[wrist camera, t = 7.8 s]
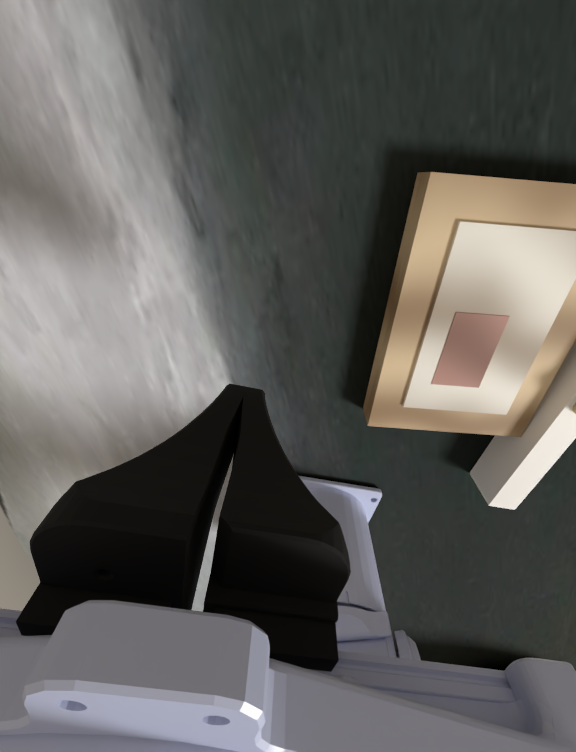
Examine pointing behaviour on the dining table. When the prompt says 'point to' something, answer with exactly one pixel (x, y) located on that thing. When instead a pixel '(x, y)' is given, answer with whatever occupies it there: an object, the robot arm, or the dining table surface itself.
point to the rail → (530, 444)
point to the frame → (476, 306)
